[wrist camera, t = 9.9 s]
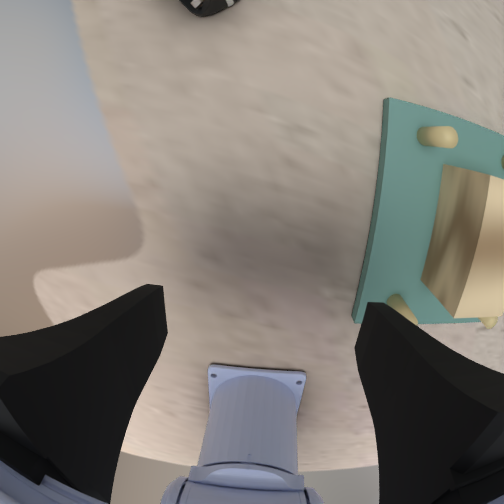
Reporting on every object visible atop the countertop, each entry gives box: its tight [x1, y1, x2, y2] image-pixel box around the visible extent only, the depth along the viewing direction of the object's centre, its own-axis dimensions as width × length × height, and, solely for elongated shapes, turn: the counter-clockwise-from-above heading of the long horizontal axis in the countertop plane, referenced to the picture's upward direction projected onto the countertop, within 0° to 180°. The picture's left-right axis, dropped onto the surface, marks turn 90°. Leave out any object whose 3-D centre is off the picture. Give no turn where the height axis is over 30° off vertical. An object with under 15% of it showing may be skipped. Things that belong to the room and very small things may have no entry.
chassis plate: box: [352, 98, 504, 329], centre depth 16 cm, size 15×13×4 cm
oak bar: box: [420, 164, 504, 318], centre depth 14 cm, size 8×4×5 cm, turn 177°
